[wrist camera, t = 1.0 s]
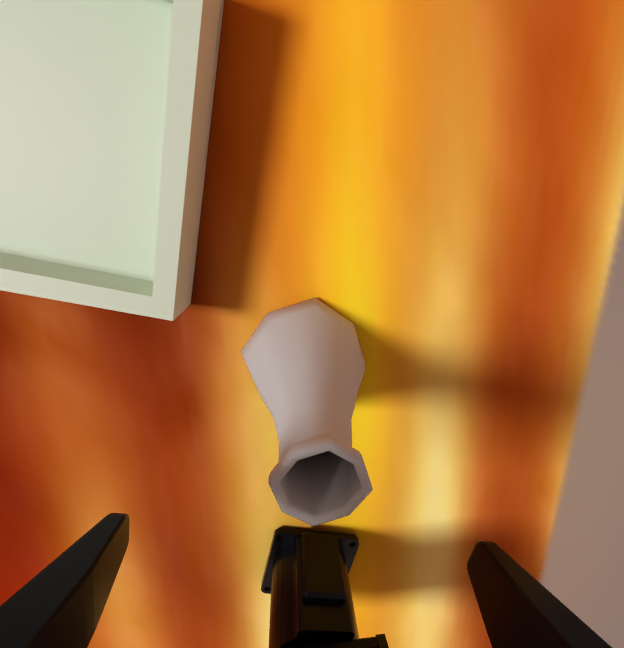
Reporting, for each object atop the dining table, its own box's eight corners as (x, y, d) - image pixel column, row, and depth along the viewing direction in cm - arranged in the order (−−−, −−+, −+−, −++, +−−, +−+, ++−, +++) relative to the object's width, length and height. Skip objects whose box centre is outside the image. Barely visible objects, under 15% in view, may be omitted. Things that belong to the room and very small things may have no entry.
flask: (318, 274, 18) (352, 338, 9) (384, 365, 20) (470, 496, 11) (219, 347, 19) (154, 477, 10) (293, 426, 21) (298, 596, 12)
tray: (190, 304, 18) (172, 320, 15) (-96, 250, 16) (-178, 258, 13) (224, -4, 14) (208, -60, 11) (-158, -127, 12) (-298, -235, 9)
